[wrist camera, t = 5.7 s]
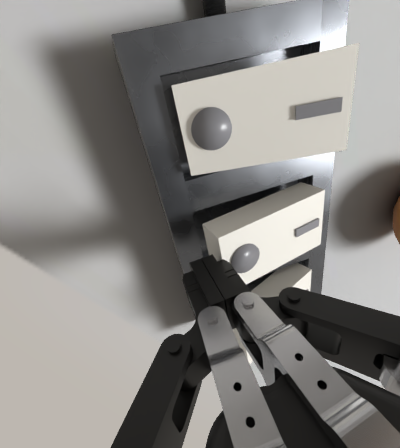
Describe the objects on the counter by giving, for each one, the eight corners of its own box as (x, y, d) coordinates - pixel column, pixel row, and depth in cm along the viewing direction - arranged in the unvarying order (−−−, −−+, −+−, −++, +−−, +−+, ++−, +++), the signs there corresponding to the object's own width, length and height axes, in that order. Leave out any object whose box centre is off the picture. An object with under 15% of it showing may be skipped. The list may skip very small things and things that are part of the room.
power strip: (303, -226, 11) (385, -371, 8) (295, 282, 27) (319, 307, 24) (31, -219, 9) (-22, -405, 6) (197, 319, 26) (208, 353, 22)
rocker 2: (290, 259, 21) (313, 270, 20) (290, 293, 23) (311, 305, 22) (223, 313, 18) (244, 331, 16) (231, 347, 20) (250, 366, 18)
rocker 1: (338, 47, 11) (361, 42, 10) (330, 140, 14) (348, 150, 12) (177, 84, 13) (170, 85, 11) (194, 164, 15) (191, 176, 13)
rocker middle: (300, 182, 17) (327, 190, 15) (299, 232, 19) (322, 245, 17) (202, 224, 15) (219, 239, 13) (213, 276, 17) (229, 295, 15)
